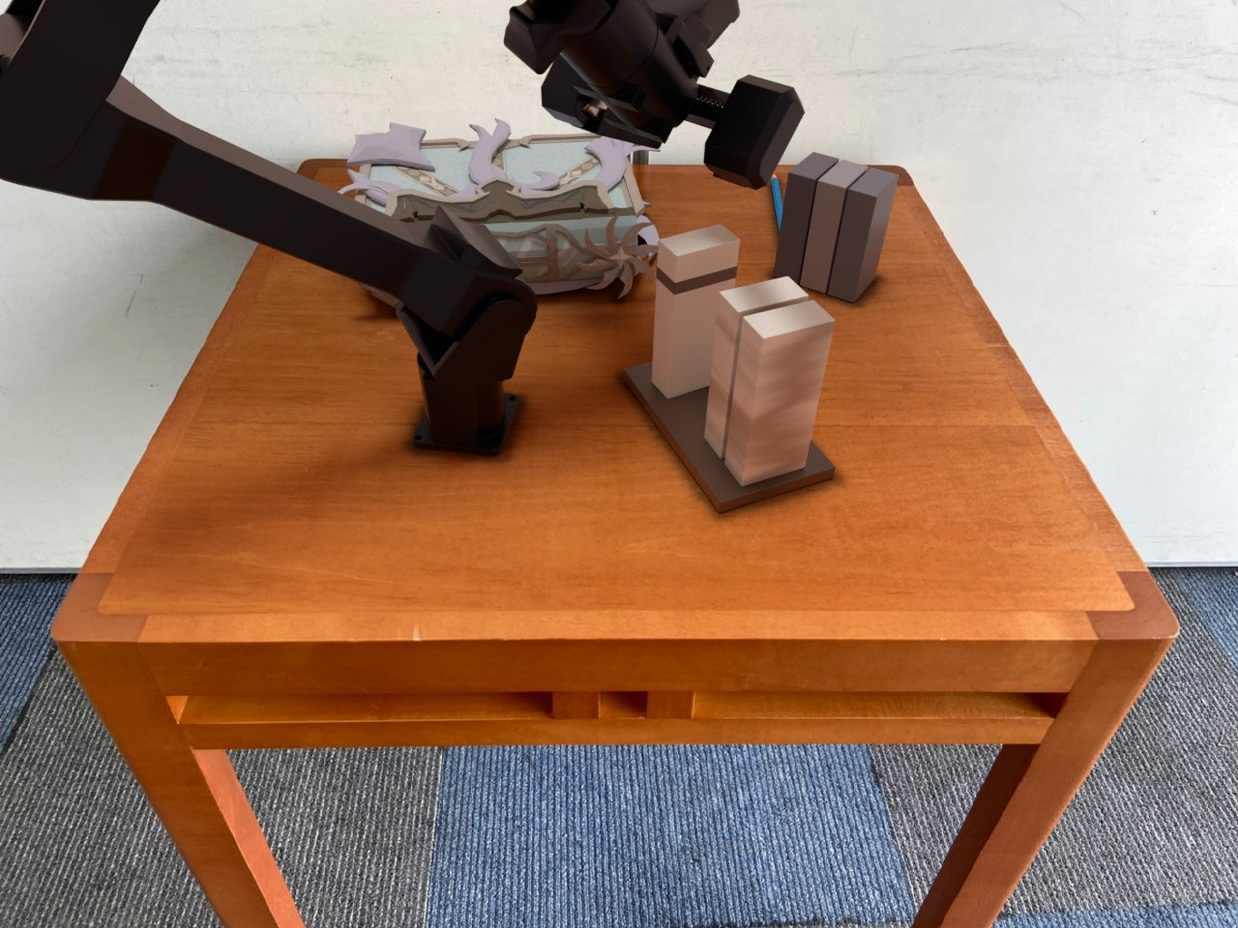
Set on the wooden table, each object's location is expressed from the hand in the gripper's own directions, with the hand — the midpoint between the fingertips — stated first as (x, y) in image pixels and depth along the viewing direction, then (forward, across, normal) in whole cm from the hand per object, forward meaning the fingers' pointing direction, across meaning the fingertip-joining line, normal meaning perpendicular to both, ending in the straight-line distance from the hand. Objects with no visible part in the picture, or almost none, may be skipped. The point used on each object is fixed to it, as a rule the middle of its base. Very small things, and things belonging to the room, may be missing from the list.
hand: (708, 159), depth 68 cm
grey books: (+19, -5, +1) cm, 20 cm away
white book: (+3, -6, +16) cm, 17 cm away
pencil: (+24, +4, -4) cm, 25 cm away
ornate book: (+8, +20, +11) cm, 24 cm away
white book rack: (+2, -10, +17) cm, 20 cm away
